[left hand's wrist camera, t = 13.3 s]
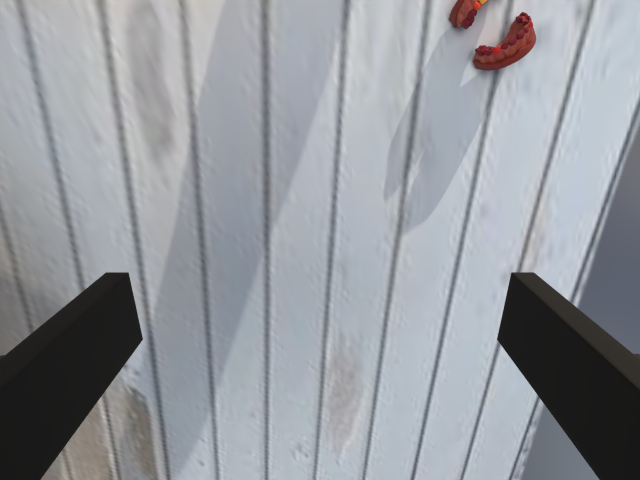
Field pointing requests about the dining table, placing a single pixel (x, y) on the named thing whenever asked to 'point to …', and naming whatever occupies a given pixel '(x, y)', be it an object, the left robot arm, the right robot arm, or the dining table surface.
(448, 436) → the dining table surface
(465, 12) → the dental model
